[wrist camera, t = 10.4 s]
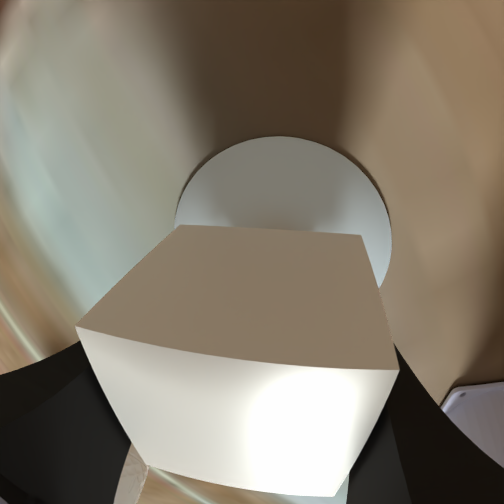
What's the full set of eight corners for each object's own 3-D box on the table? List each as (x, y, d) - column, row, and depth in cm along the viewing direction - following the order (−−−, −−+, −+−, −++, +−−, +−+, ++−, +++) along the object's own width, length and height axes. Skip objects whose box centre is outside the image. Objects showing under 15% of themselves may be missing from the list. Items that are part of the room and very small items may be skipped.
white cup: (85, 416, 28) (47, 480, 19) (130, 422, 25) (88, 501, 17) (126, 453, 31) (96, 513, 22) (172, 461, 28) (143, 531, 19)
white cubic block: (361, 234, 9) (399, 370, 4) (336, 369, 12) (333, 496, 7) (180, 224, 10) (74, 326, 5) (198, 354, 13) (145, 464, 8)
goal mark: (403, 145, 11) (405, 146, 11) (369, 340, 15) (370, 342, 15) (165, 139, 13) (163, 139, 12) (189, 323, 17) (187, 325, 17)
